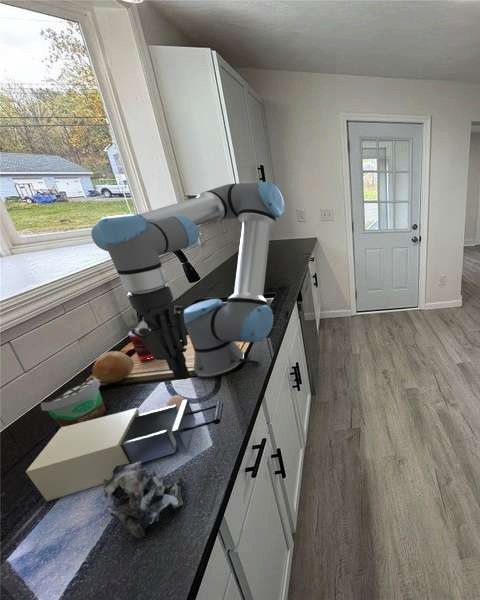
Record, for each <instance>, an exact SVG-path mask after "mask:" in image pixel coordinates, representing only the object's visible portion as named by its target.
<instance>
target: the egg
mask: <svg viewBox="0 0 480 600" xmlns="http://www.w3.org/2000/svg"><path fill="white" fill-rule="evenodd" d="M183 400H186V398H185V397H183V396H182V395H179V394H177V395H173V396H171V397H170V398H169V399H168V401H167V404H166V407H169V406H173V405H176V406H177V409H178V411H179V409H180V406H181V403H182V401H183Z"/></svg>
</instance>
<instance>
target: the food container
mask: <svg viewBox="0 0 480 600" xmlns="http://www.w3.org/2000/svg"><path fill="white" fill-rule="evenodd" d="M100 386H101V382H100V380H99V379H98V378H96V377H95V376H92V375H89V379H87V380H86V381H84V382H83V383H81V384H78V385H76V386H74V387H72V388H69V389H67V390H66V391H64V392H63V393H61V394H60V395H58V396H57V397H56V398H54V399H52V400H50V401H48V402H46V401H45V402H40V409H41V411H43V412H45V411H47V413H48V414H49V415H50V416H51V417H52V419H53V420H54V421H55V422H56V423H57V425H59V427H60V428H62V427H66V426H70V425H74V424H77V423H81V422H85V421H89V420H93V419H97V418H101V417H103V416H104V415H105V413H106V406H105V404H104V400H103V398H102V395H101V392H100V389H99V388H100Z"/></svg>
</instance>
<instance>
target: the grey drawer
mask: <svg viewBox="0 0 480 600" xmlns="http://www.w3.org/2000/svg"><path fill="white" fill-rule="evenodd" d="M213 409H214V414H213V419H211V420H208V421H204V422H201V423H197V424H196V417H195V415H196V414H200V413H202V412H206V411H209V410H213ZM223 410H224V402H223V401H221V400H220V401H217V402H216V404H213V405H209V406H205V407H202V408H199V409H195V410H192V407H191V404H190V401H189V398H188V399H185V400H183V401H182V403H181V406H180V409H179V411H178V409H177V406H176V405H173V406H169V407H167V406H165V407H162V408H158V409H155V410H150V411H146V412H144V413H140V414H139V415H136V416H135V418H134V420H133V422H132V424H131V426H130V427H129V429H128V431H127V433H126V435H125V437H124V439H123V441H122V443H121V445H120V446H121V448H122V450H123V452H124V454H125V456H126V458H127V459H128V461H129V463H132V462H135V463H136V461H138V462H139V461H141V460H142V461H141V464H142V463H146V462H149V461H153V460H156V459H159V458H162V457H165V456H168V455H171V454H174V453H176V451H177V447H178V449H179V452H180V454H185V453H188V450H189V447H190V442H191V439H192V435H193V431H194V430H195V429H199V428H201V427H205V426H209V425H212V424H214V425H219V424H220V423H221V421H222V415H223ZM132 464H134V463H132ZM130 465H131V464H130Z"/></svg>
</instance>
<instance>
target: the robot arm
mask: <svg viewBox="0 0 480 600" xmlns="http://www.w3.org/2000/svg"><path fill="white" fill-rule="evenodd" d="M284 214H285V202H284V197H283V196H282V193H281V191H280V189H279V188H278V187H277V186H276V185H275V184H274V183H272V182H270V181H257V182H239V183H237V182H236V183H228V184H224V185H220V186H218V187H214V188H211V189H209V190H206V191H201V192H200V193H199V194H198V195H197V196H196V197H194V198H190V199H186V200H183V201H180V202H177V203H173V204H169V205H166V206H162V207H159V208H156V209H155V208H154V209H152V210H148V211H145V212H142V213H129V214H119V215H110V216H105V217H101V218H99V220H98V222H96V223H95V224H94V225H93V226H92V228H91V233H90V234H91V239H92V240H93V242H94V244H95V245H96V246H97V247H98V248H99V249H101V250H102V251H105V252H108V254H109V256H110V259H111V261H112V263H113V264H114V268H115V270H116V272H117V275H118V277H119V279H120V282H121V284H122V286H123V289H124V291H125V292H127V295H126V296H127V298H128V299H127V300H128V301H129V304H130V306H131V308H132V310H134V311H135V312H136V313H137V314H138V315H137V316H138V317H137V319H138V322H139V323H138V325H137V327H135V328H132V329H131V331H132V334H134V335H136V336H137V337H139V338H140V340H141V341H142V342H143V343H144V345H145V346H146V347H147V349H148V350H149V351H150V353H151V354H152V355H153V357H154V358H155V359H154V360H155V361H165V362H166V364H167V367H168V370H170V371H171V372H172V375H173V377H174V379H175V380H187V379H188V378H189V377H191V374H190V372H189V368H188V366H187V364H186V363H187V360H186V357H185V354H184V353H186V352H187V348H186V347H187V346H188V337H189V340H190V343H191V345H192V348H193V351H194V358H193V359H194V360H193V371H194V374H195V375H196V376H197V377H198V378H202V379H213V378H218V377H221V376H225V375H227V374H229V373H233V372H234V371H236V370H237V369H238V368H239V367H240V366H242V365H243V364H244V363H248V364H254V365H258V364H259V361H258V360H252V359H248V358H247V359H246V358H245V354H244V352H243V350H242V349H241V348H240V347H239V345H238V344H237V343H240V342H241V343H258V342H261V341H263V340H265V339H266V338H267V336H269V334H270V333H271V331H272V328H273V325H274V314H273V313H274V312H273V309H271V307H270V306H268V301H267V299H266V298H265V297H264V290H265V282H266V271H267V262H268V253H269V244H270V243H269V242H270V236H271V235H270V233H271V229H272V228H274V227H275V226H276V222H277V218H281V217H283V216H284ZM230 219H231V220H232V219H238V221H240V223H241V224H242V225H241V231H240V232H241V234H240V242H239V249H238V257H237V266H236V267H237V268H236V274H235V281H234V289H233V294H231V295H230V296H229V297H227V303H226V304H225V305H224V302H223V301H222V299H220V298H211V299H206V300H203V301H199V302H197V303H194V304H191V305H189V306H187V308H185V307H184V306H183V305H178V306H177V305H175V303H174V302H173V301H174V295H173V292H172V290H171V287H170V285H168V282H169V280H168V278H167V275H166V273H165V270H164V267H163V265H162V262H161V260H160V256H162V255H166V254H169V253H173V252H177V251H179V250H183V249H187V248H189V247H192V246H194V245H195V244H196V243H197V242H198V240H199V237H200V233H199V229H198V227H197V226H200V225H203V224H206V223H207V222H220V221H222V220H230ZM187 335H188V336H187Z"/></svg>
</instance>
